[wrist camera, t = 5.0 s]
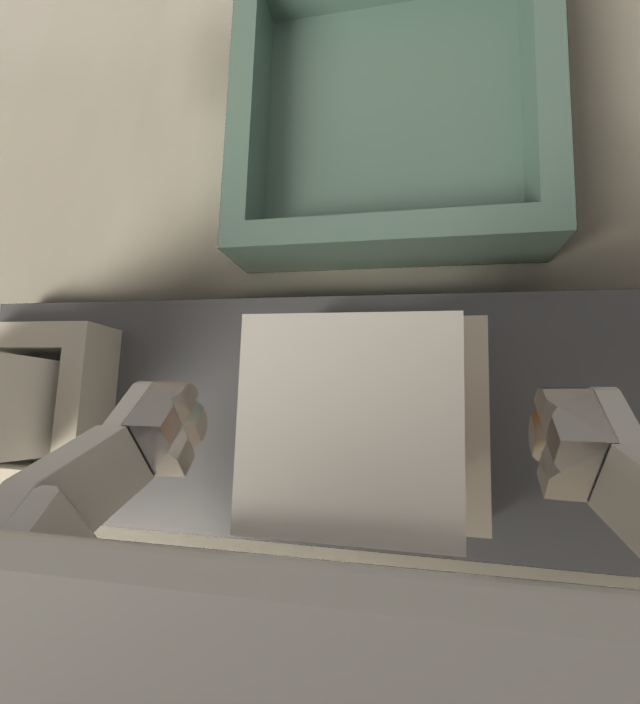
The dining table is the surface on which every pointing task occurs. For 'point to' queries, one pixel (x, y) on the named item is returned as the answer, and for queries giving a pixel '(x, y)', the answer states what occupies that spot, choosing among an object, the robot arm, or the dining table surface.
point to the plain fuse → (26, 406)
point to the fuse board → (226, 314)
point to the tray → (396, 134)
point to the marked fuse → (352, 430)
